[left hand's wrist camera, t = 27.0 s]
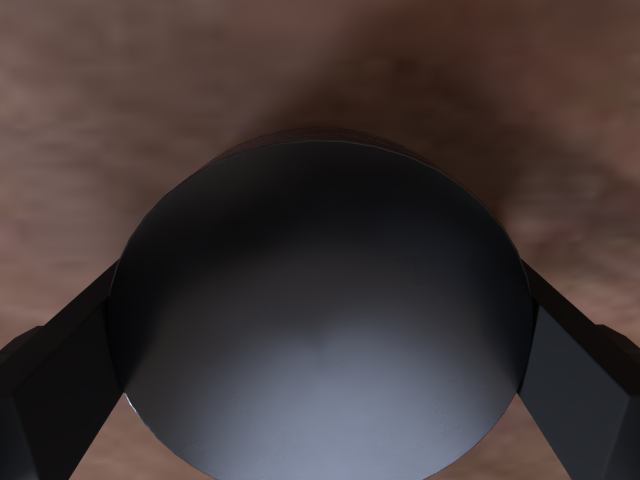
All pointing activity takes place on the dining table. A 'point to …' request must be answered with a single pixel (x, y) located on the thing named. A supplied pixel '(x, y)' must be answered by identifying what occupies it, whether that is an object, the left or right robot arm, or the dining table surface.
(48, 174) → the dining table surface
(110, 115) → the dining table surface
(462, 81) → the dining table surface
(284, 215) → the lid
